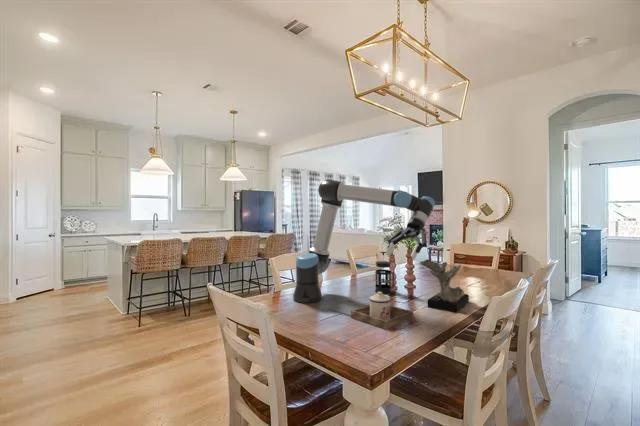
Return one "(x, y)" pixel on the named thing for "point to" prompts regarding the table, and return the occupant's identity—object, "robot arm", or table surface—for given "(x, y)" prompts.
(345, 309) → the rubber mat
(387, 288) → the french press
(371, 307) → the teacup with lid
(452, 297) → the coral
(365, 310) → the wooden frame
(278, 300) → the table surface
